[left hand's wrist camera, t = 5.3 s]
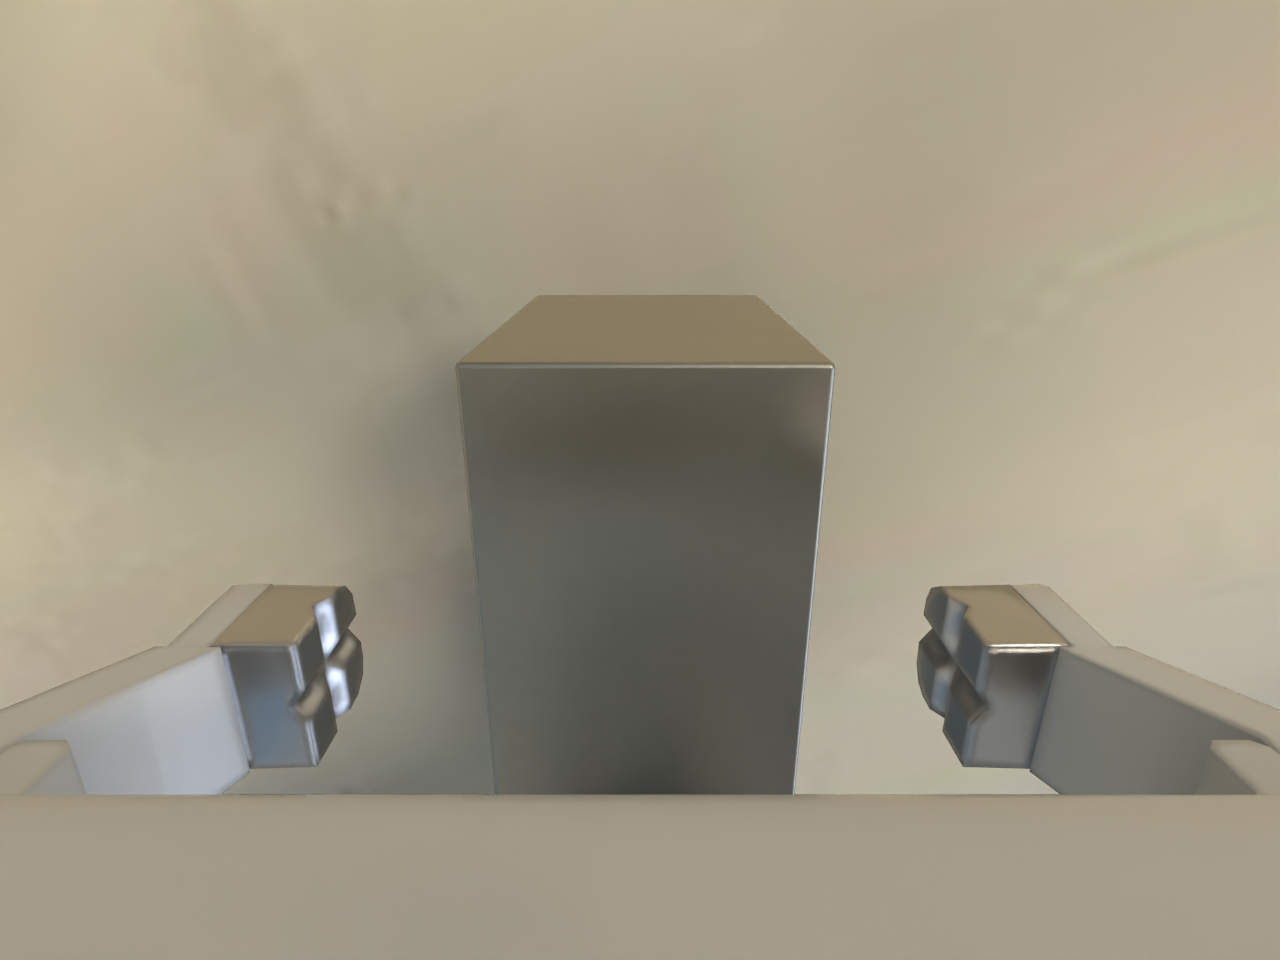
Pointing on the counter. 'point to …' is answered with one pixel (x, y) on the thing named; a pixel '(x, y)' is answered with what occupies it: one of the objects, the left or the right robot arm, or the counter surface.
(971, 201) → the counter surface
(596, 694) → the box
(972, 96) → the counter surface
